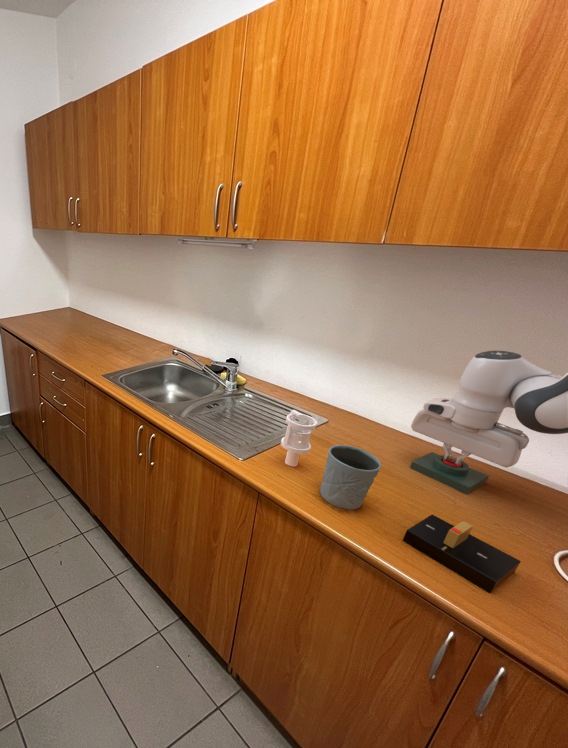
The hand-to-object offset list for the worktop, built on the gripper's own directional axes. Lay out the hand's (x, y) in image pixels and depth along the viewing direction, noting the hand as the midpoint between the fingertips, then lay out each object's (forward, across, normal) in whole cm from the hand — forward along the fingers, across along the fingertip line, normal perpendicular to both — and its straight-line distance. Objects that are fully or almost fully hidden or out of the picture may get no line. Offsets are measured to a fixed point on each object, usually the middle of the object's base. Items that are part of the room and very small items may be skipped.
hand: (451, 461), depth 102 cm
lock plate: (+4, -14, +30) cm, 33 cm away
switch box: (+4, 0, 0) cm, 4 cm away
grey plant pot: (+4, +7, +33) cm, 34 cm away
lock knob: (+1, -13, +30) cm, 33 cm away
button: (+2, 0, 0) cm, 2 cm away
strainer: (+4, +22, +31) cm, 38 cm away
